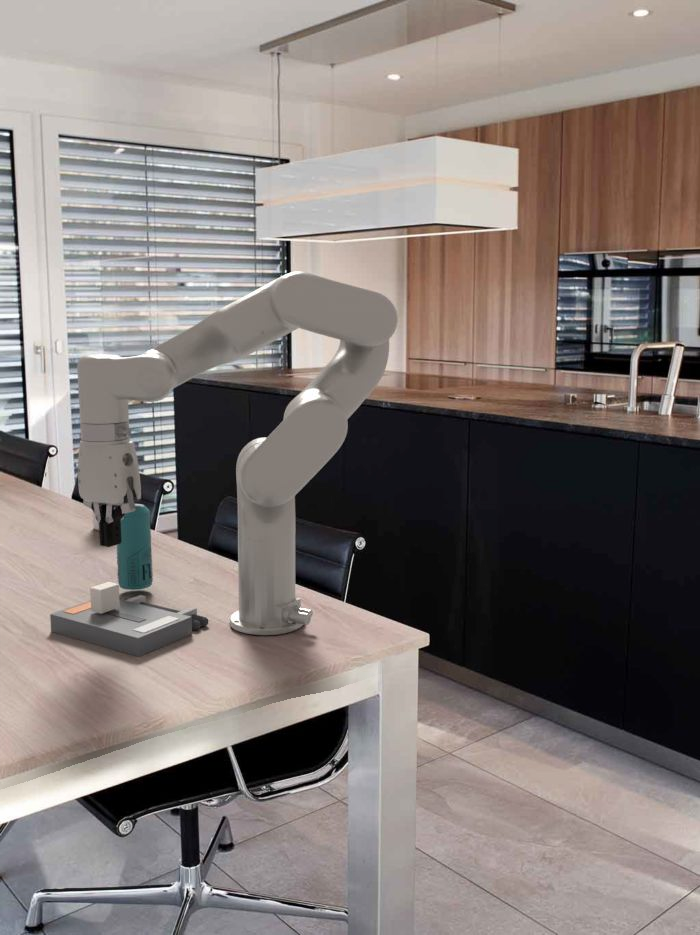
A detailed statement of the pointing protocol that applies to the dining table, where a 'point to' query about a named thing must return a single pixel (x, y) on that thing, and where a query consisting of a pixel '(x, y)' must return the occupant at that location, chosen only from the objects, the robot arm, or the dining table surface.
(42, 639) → the dining table surface
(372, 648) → the dining table surface
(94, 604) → the block
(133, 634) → the panel
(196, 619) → the dressed cords
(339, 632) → the dining table surface
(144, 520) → the beverage bottle
